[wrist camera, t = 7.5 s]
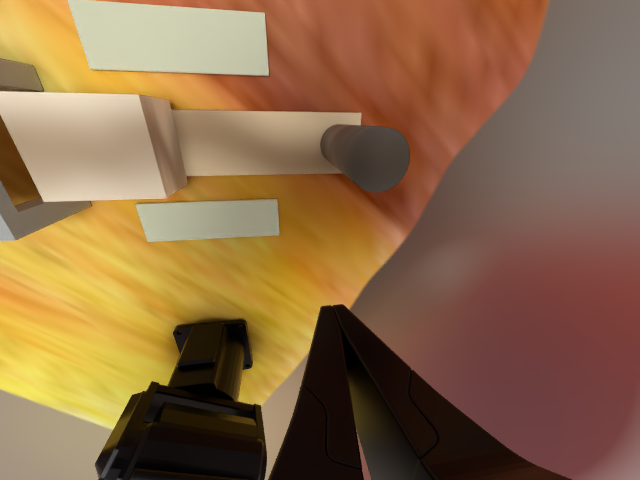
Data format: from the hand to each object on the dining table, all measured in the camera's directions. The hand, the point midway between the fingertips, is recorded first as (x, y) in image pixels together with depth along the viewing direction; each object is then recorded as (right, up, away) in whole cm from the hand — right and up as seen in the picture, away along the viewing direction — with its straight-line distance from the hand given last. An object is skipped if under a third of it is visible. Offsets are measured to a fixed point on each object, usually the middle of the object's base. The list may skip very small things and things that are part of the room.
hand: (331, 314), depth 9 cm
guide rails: (-9, +9, +8) cm, 15 cm away
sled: (-7, +9, +8) cm, 14 cm away
